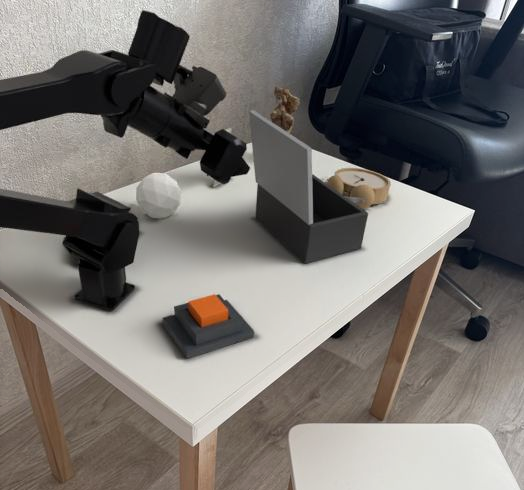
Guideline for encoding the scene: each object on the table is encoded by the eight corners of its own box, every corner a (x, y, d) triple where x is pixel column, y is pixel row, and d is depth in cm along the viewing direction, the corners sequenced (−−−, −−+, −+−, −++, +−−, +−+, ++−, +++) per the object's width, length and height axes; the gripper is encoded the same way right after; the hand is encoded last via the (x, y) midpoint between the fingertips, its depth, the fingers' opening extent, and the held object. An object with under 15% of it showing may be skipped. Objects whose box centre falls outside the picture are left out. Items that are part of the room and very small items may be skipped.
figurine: (255, 158, 125) (259, 85, 115) (273, 152, 128) (280, 81, 119) (279, 169, 121) (286, 95, 111) (298, 163, 125) (306, 90, 115)
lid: (253, 109, 90) (248, 111, 90) (311, 148, 80) (307, 149, 80) (259, 180, 99) (255, 182, 99) (313, 223, 89) (308, 225, 89)
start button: (201, 328, 75) (201, 317, 74) (188, 311, 77) (188, 301, 76) (228, 320, 77) (228, 309, 75) (214, 304, 79) (214, 293, 78)
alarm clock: (400, 179, 114) (370, 191, 103) (393, 203, 117) (362, 217, 106) (351, 163, 119) (316, 173, 108) (345, 186, 122) (311, 198, 110)
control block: (187, 359, 74) (186, 341, 72) (162, 324, 79) (161, 307, 77) (253, 337, 78) (255, 320, 76) (226, 306, 83) (227, 289, 81)
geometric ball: (170, 231, 104) (183, 210, 97) (127, 217, 101) (137, 194, 94) (177, 196, 106) (190, 173, 99) (135, 181, 103) (146, 157, 96)
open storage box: (307, 207, 109) (311, 173, 104) (361, 249, 98) (368, 213, 94) (254, 219, 104) (257, 183, 100) (305, 264, 94) (310, 226, 89)
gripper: (228, 80, 68) (297, 132, 81) (145, 36, 78) (218, 89, 90) (184, 164, 71) (257, 202, 84) (109, 112, 81) (185, 153, 93)
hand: (229, 158), depth 88 cm, fingers open, 9 cm apart
